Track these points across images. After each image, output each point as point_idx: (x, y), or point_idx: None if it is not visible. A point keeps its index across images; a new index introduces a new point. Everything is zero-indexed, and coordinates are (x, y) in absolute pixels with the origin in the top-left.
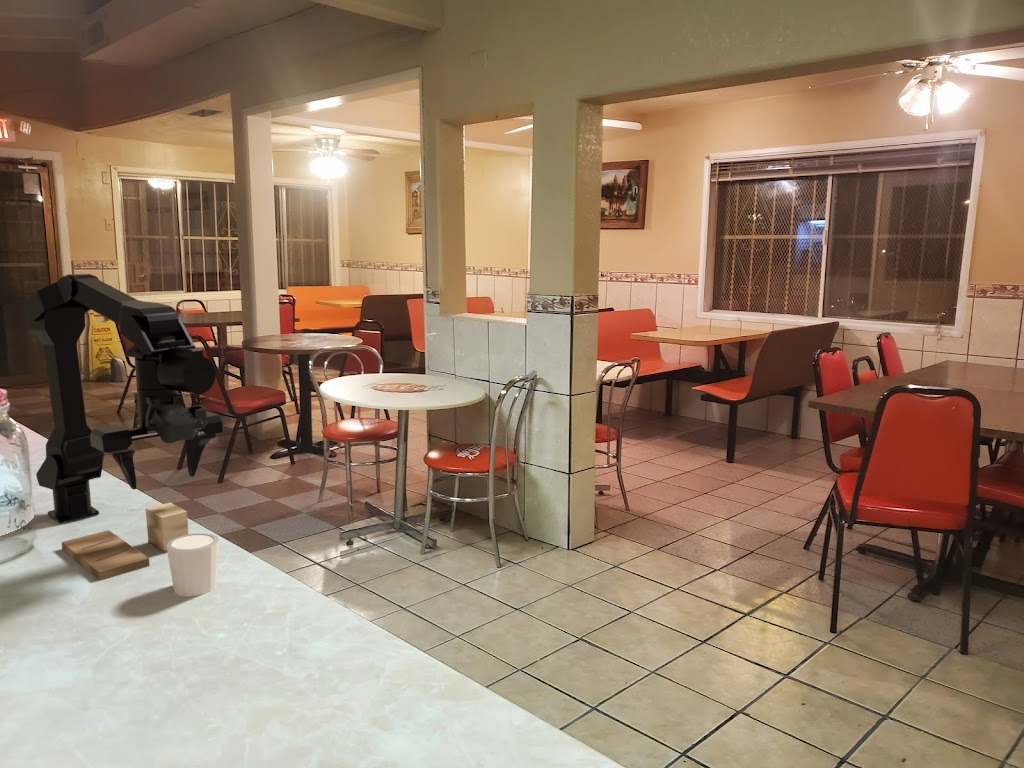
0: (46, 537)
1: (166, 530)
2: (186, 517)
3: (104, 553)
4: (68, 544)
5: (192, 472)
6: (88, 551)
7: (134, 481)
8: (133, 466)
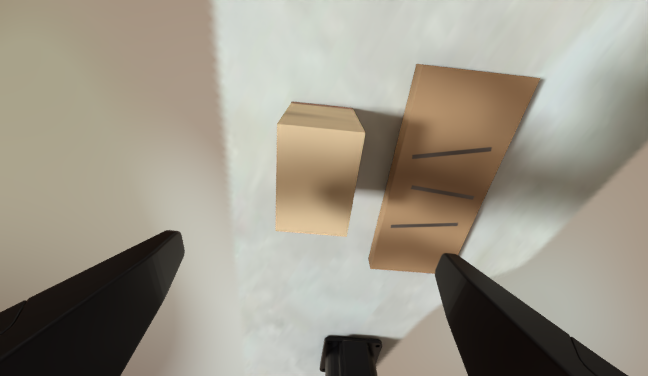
0: (422, 313)
1: (348, 119)
2: (282, 119)
3: (452, 174)
4: None
5: (164, 242)
6: (459, 206)
7: (476, 277)
8: (565, 364)
